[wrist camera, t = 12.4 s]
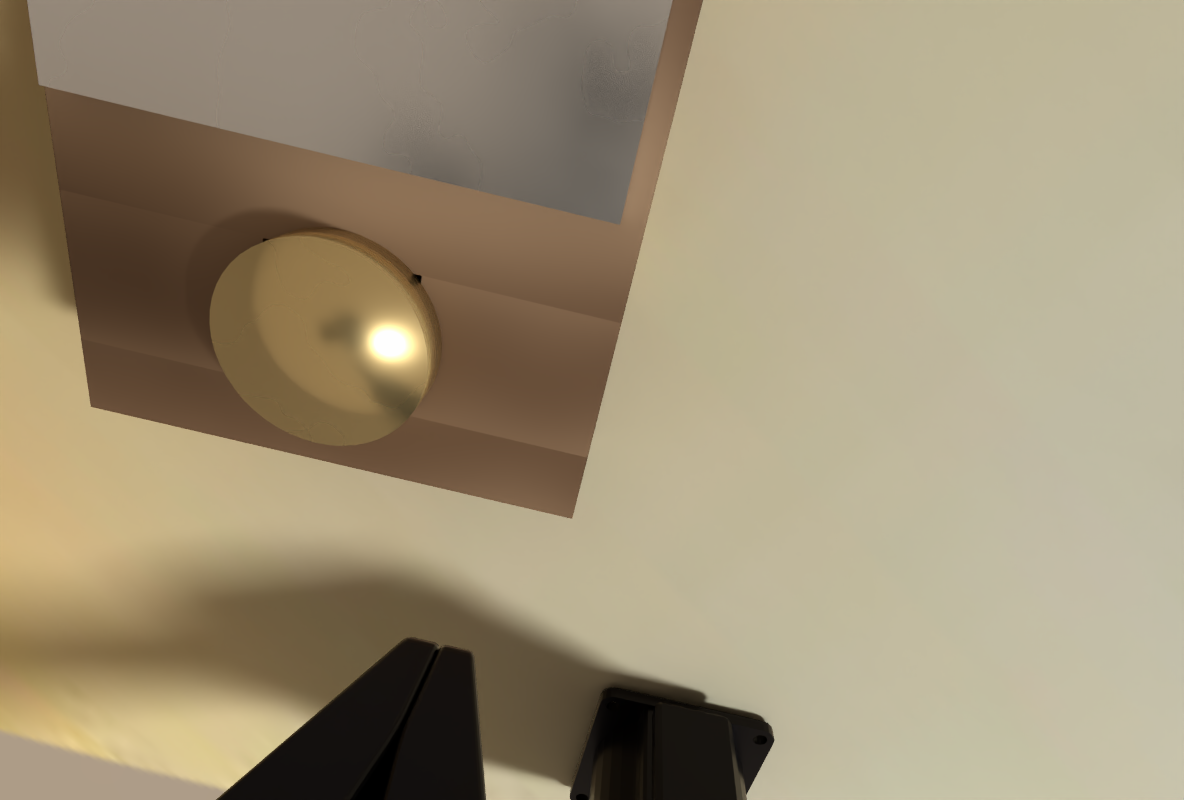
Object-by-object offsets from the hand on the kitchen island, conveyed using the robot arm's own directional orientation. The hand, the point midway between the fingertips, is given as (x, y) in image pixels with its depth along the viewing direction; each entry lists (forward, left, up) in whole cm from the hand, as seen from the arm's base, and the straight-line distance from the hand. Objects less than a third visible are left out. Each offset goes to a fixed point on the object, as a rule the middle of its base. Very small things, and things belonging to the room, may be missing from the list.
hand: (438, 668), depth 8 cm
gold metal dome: (+1, +5, -11) cm, 12 cm away
